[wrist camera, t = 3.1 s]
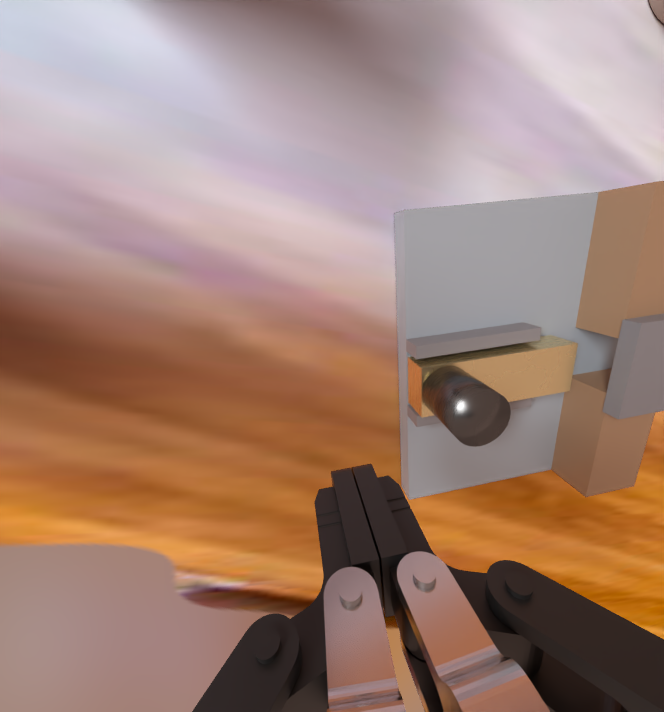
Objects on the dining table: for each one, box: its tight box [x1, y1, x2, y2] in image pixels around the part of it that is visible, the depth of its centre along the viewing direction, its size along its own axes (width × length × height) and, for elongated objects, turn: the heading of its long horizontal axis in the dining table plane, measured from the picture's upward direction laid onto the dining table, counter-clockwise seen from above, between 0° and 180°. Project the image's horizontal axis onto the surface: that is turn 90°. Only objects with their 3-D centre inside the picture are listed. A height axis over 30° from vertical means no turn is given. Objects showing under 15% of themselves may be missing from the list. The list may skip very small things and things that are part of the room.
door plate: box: [394, 181, 664, 500], centre depth 20 cm, size 16×20×6 cm
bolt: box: [408, 335, 578, 447], centre depth 18 cm, size 10×3×6 cm, turn 96°
